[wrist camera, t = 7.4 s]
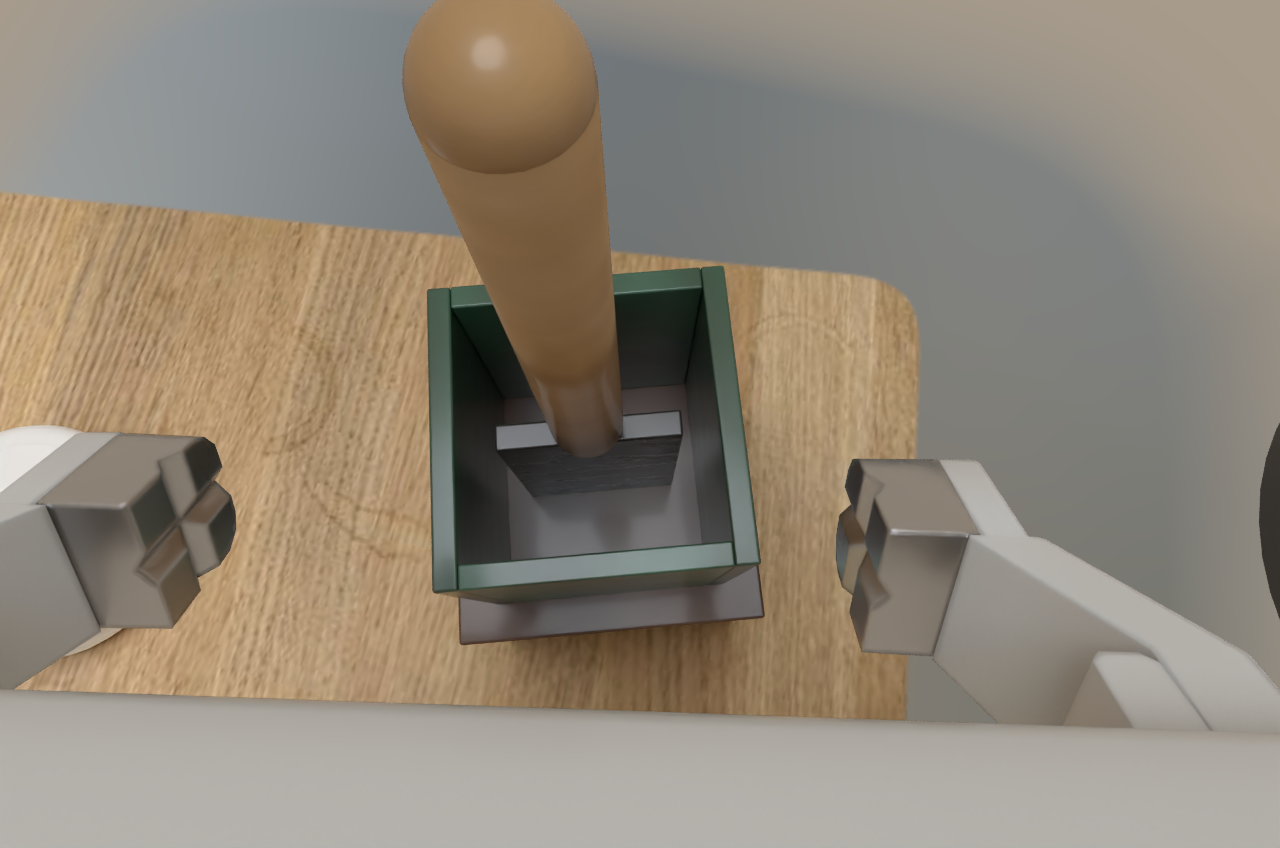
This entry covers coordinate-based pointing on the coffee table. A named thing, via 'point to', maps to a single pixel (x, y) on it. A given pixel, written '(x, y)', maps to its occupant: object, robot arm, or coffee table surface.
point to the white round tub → (20, 451)
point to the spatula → (536, 230)
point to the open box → (598, 520)
